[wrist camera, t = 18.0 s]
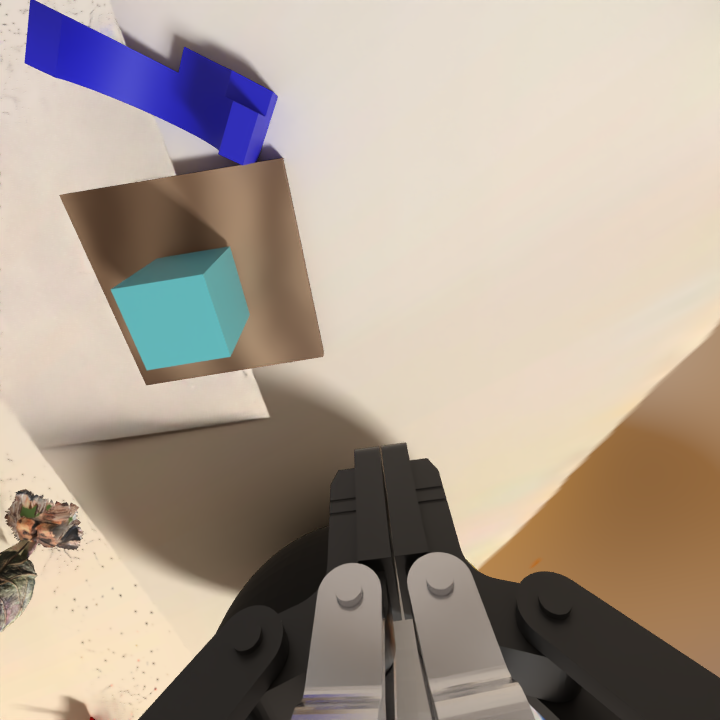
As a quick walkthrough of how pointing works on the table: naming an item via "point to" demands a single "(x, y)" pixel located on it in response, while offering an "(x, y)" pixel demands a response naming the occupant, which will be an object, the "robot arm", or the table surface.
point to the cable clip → (155, 83)
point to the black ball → (302, 579)
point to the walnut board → (204, 232)
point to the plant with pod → (32, 547)
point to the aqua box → (184, 308)
